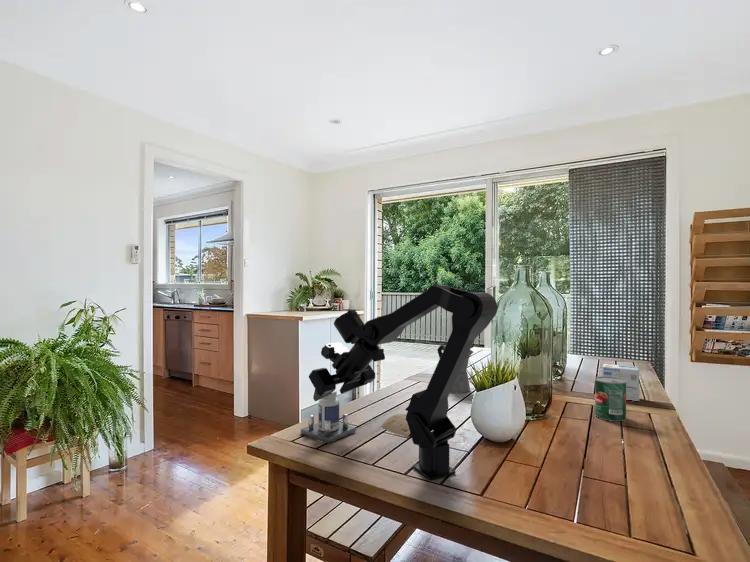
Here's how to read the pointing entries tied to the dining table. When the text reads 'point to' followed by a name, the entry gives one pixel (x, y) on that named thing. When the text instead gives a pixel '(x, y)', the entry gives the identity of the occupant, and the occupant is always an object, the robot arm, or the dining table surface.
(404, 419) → the clay tablet
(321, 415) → the pill bottle
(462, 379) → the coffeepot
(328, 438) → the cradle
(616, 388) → the canned tomato
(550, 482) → the dining table surface
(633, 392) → the light bulb box
